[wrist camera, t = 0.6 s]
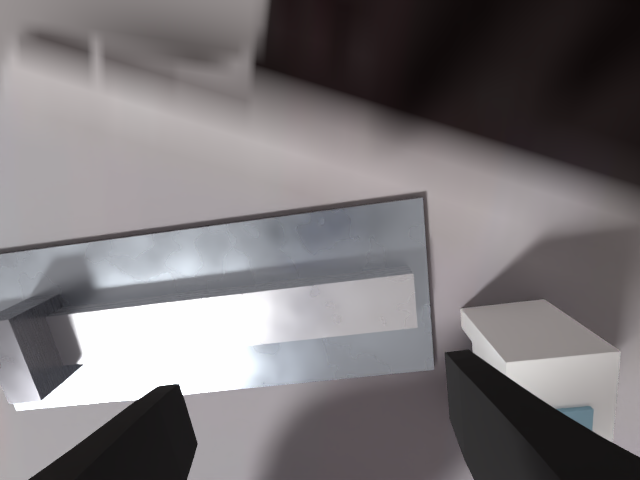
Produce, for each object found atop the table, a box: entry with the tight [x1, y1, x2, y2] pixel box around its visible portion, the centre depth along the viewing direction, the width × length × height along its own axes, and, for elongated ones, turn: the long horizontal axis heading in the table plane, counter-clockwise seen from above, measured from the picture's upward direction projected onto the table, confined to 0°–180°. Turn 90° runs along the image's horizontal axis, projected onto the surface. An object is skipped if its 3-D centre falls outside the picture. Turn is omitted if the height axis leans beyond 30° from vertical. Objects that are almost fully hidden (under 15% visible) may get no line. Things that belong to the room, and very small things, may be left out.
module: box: [461, 299, 621, 443], centre depth 17 cm, size 7×4×5 cm, turn 8°
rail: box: [0, 197, 434, 411], centre depth 18 cm, size 10×26×3 cm, turn 98°
